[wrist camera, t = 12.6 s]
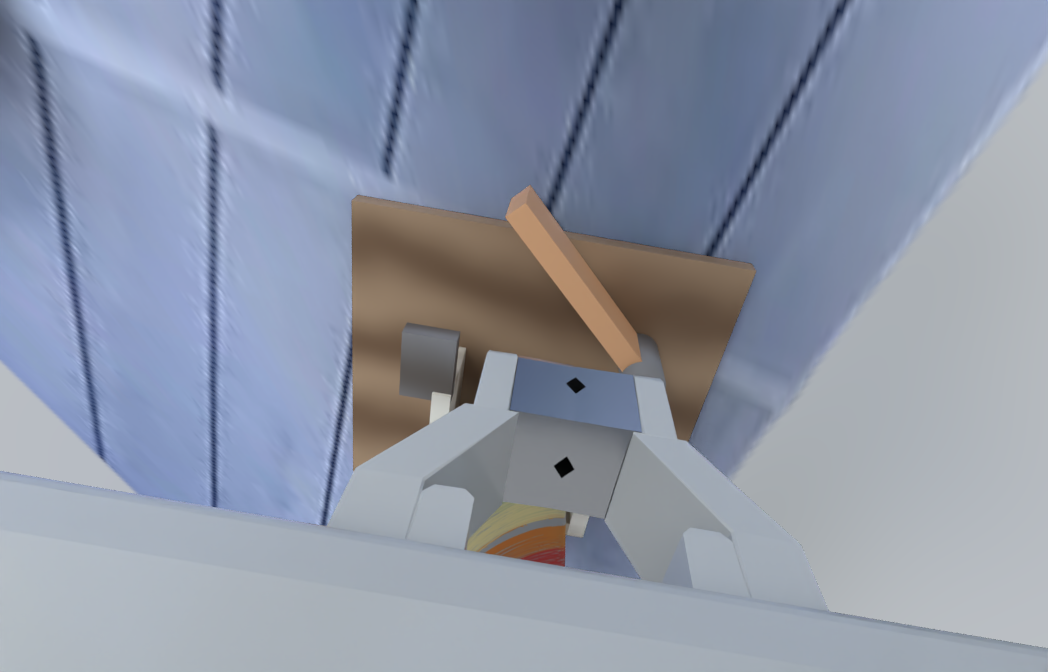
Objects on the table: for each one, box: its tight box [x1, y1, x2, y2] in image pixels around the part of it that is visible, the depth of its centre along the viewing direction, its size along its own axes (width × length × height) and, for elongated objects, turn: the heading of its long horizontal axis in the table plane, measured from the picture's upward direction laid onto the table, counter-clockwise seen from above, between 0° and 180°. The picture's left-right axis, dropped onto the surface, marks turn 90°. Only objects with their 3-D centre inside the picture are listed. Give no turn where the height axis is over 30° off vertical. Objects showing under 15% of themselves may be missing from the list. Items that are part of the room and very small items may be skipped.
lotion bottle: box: [466, 377, 566, 567], centre depth 28 cm, size 6×6×20 cm
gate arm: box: [505, 185, 666, 389], centre depth 30 cm, size 13×2×4 cm, turn 37°
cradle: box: [352, 195, 756, 538], centre depth 34 cm, size 20×22×6 cm
